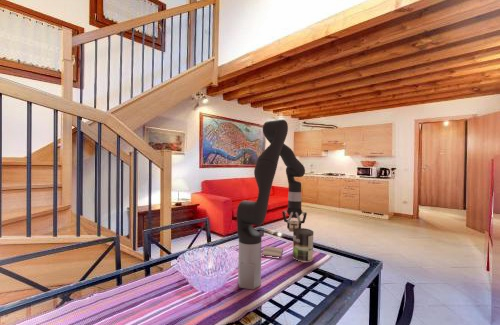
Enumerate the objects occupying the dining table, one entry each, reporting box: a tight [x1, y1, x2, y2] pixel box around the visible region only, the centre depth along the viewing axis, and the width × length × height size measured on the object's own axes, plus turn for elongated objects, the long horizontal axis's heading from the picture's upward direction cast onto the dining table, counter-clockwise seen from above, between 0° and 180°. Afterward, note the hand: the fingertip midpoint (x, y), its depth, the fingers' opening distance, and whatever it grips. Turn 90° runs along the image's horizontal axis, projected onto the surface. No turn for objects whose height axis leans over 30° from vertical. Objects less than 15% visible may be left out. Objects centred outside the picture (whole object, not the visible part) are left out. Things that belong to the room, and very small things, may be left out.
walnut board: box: [261, 246, 284, 259], centre depth 126 cm, size 12×10×1 cm
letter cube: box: [288, 220, 299, 233], centre depth 132 cm, size 5×5×5 cm
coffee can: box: [292, 227, 314, 263], centre depth 120 cm, size 10×10×14 cm
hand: (294, 229), depth 132 cm, fingers closed on letter cube, 5 cm apart
